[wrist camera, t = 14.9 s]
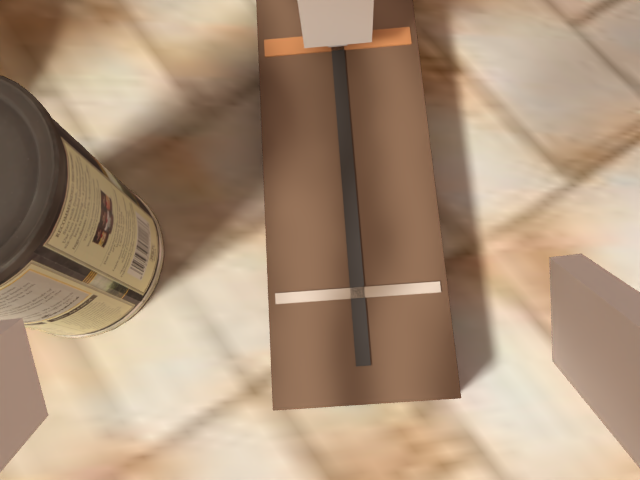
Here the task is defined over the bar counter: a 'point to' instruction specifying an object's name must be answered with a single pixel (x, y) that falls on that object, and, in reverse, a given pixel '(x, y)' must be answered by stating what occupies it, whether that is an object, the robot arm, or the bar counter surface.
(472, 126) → the bar counter surface
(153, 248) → the coffee can
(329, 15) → the fader
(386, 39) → the brown slab
